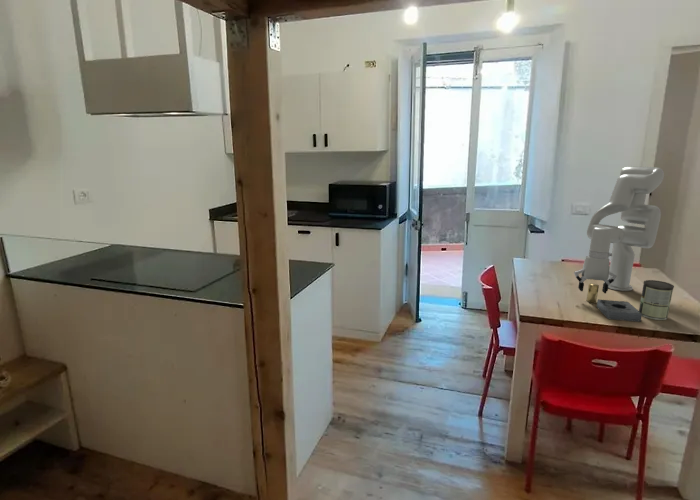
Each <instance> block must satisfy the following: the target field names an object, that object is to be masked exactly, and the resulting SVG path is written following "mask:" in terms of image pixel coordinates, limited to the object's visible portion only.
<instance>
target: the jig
mask: <svg viewBox="0 0 700 500" xmlns="http://www.w3.org/2000/svg"><path fill="white" fill-rule="evenodd" d="M596 308H597V309H598V310H599V311H600V312H601V313H602V314H603V315H604V316H605V318H607V320H614V321H615V320H616V321H626V322H628V321H629V322H636V323H637V322H639V323H640V322H641V321H642V317H643V316H642V313H641V312H639V309H637V308H636V307H635V306H633V304H631V303H630V302H629V301H625V300H624V301H621V300H611V299H609V300H608V299H598V298H597V301H596Z"/></svg>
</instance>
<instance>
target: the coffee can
mask: <svg viewBox="0 0 700 500" xmlns="http://www.w3.org/2000/svg"><path fill="white" fill-rule="evenodd" d="M674 288H675V286H674V284H672V283H670V282H666V281H662V280H655V279H646V280H644V281H643V285H642V291H641V295H640V296H641V297H640V302H639V307H638V308H639V309H638V311H639V312H641V313H642V317H643V318H646V319H649V320H656V321H666V320H668V318H669V317H668V316H669V311H670V306H671V301H672V297H673V292H674Z"/></svg>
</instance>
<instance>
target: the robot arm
mask: <svg viewBox="0 0 700 500" xmlns="http://www.w3.org/2000/svg"><path fill="white" fill-rule="evenodd" d="M664 178H665V172H664V170H663V168H661V167H656V166H654V167H653V166H632V165H631V166H625V167H623V168H622V169H621V170H620V175H619V176H618V178H617V179H616V182H615V185H614V187H613V190H612V193H611V196H610V197H609V198H610V199H609V201H608V203H606V204H605V205H603V206H601V208H599V209H598V210H597V211H596V212H594V214H593V215H592V216H591V219H590V221H589V224H588V226H587V230H586V236H587V238H589V239H590V244H589V251H588V256H585V259H584V262H583V264H582V265H583V266H582V269H579V270H576V271H574V272H573V274H574V276H575V278H576V279H577V281H578V287H577V288H578V290H579V291H580V292H584V287H585V283H584V282H585V281H587V280H590V281H591V280H594V281H603V284H602V289H601V292H602V293H603V294H607V292H608V291H609V289H611V290H615V291H621V292H622V291H623V292H630V291H633V288H634V287H633V285H630V284H631V278H632V273H633V267H634V261H635V255H636V254H635V251H634V249H633V248H632V247H636V248H642V249H650V248H652V247H653V246H654V245H655V242H656V239H657V235H658V231H659V226H660V222H661V217H662V212H661V209H660V207H659V206H657V205H652V204H645V201H646V197H647V195H649V194H652V192H654V191H655V190H656V189H657V188H658V187H659V186H660V185H661V184H662V182H663V180H664ZM618 213H620V219H621V221H623V223H627V224H634V225H635V224H637V225H643V226H645V227H643V226H642V227H641V226H634V225H626V224H622V225H618V226H614V225H609V224H601V223H600V222H601V221H602V220H603V219H604V218H606V217H608V216H611V215H614V214H618ZM611 244H612V252H610V248H611ZM609 257H611V258H609ZM580 275H581V276H580Z"/></svg>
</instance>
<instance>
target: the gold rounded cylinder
mask: <svg viewBox="0 0 700 500" xmlns="http://www.w3.org/2000/svg"><path fill="white" fill-rule="evenodd" d="M599 287H600V285H599V284H597V283H588V287H587V293H586V302H587V303H590V304H597V300H598V293H599Z"/></svg>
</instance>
